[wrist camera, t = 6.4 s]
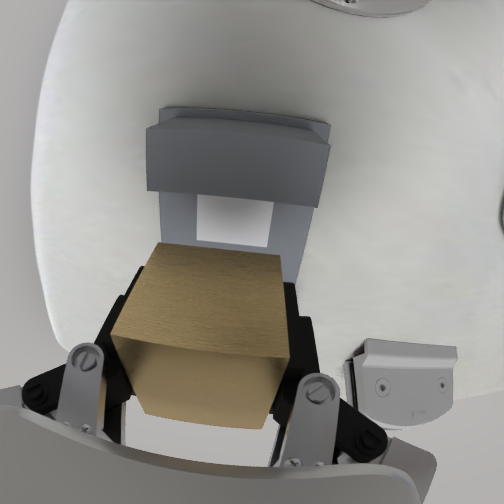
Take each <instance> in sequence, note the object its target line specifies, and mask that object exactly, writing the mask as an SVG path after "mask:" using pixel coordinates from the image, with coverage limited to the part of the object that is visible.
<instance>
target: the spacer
mask: <svg viewBox="0 0 504 504" xmlns="http://www.w3.org/2000/svg"><path fill="white" fill-rule="evenodd" d="M110 335H111V338H112V340H113V343H114V345H115V348H116V351H117V353H118V355H119V358H120V360H121V363H122V365H123V367H124V370H125V372H126V374H127V377H128V379H129V381H130V383H131V385H132V388H133V390H134V392H135V394H136V396H137V398H138V400H139V402H140V404H141V406H142V408H143V410H144V412H145V414H149V415H153V416H158V417H162V418H168V419H173V420H178V421H184V422H191V423H197V424H205V425H213V426H222V427H232V428H245V429H262V427H263V425H264V422H265V420H266V418H267V415H268V413H269V411H270V408H271V406H272V403H273V401H274V398H275V396H276V393H277V391H278V388H279V385H280V383H281V380H282V378H283V375H284V372H285V370H286V367H287V364H288V362H289V359H290V355H289V342H288V330H287V319H286V308H285V297H284V286H283V276H282V266H281V257H280V255H274V254H264V253H255V252H245V251H236V250H226V249H217V248H207V247H198V246H189V245H179V244H170V243H160V242H158V244H157V246H156V247H155V249H154V251H153V253H152V254H151V256H150V258H149V260H148V261H147V263H146V265H145V267H144V269H143V270H142V272H141V274H140V276H139V278H138V280H137V282H136V283H135V285H134V287H133V289H132V291H131V293H130V295H129V297H128V299H127V301H126V303H125V305H124V307H123V309H122V311H121V313H120V315H119V317H118V319H117V321H116V323H115V325H114V327H113V329H112V331H111V333H110Z"/></svg>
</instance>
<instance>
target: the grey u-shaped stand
mask: <svg viewBox="0 0 504 504" xmlns="http://www.w3.org/2000/svg"><path fill="white" fill-rule="evenodd" d="M330 126H331V125H329V124H327V123H323V122H318V121H313V120H307V119H301V118H295V117H289V116H282V115H275V114H267V113H258V112H249V111H238V110H225V109H208V108H162V109H159V123H158V124H156V125H154V126H151V127H149V128H146V175H147V191H159V206H160V226H161V241H162V243H170V244H179V245H189V246H198V247H207V248H217V249H226V250H236V251H245V252H255V253H264V254H274V255H280V257H281V266H282V276H283V282H291V283H294V284H296V280H297V276H298V272H299V269H300V265H301V261H302V257H303V253H304V248H305V244H306V240H307V236H308V232H309V227H310V223H311V219H312V214H313V210H314V208H318V203H319V199H320V194H321V190H322V185H323V180H324V176H325V171H326V166H327V161H328V156H329V151H330V145H329V144H328V143H327V142H328V137H329V131H330Z"/></svg>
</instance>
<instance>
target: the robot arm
mask: <svg viewBox="0 0 504 504" xmlns="http://www.w3.org/2000/svg"><path fill="white" fill-rule="evenodd" d="M313 1H315V2H318V3H320V4H323V5H325V6H327V7H330V8H334V9H337V10H340V11H344V12H347V13H351V14H357V15H362V16H367V17H393V16H400V15H404V14H407V13H410V12H413V11H415V10H417V9H420V8H422V7H424V6H425V5H426V4H428V3H429V2H430V1H431V0H347V1H348V3H349V4H348V3H346V2H344V1H343V0H313ZM144 267H145V266H141V267H140V268H139V270H138V272H137V273H136V275H135V277H134V279H133V280H132V282H131V284H130V286H129V288H128V290H127V291H126V293H125V295H120V296H119V297H118V298H117V300H116V302H115V303H114V305H113V307H112V309H111V311H110V313H109V315H108V317H107V318H106V320H105V322H104V324H103V326H102V328H101V330H100V332H99V334H98V336H97V338H96V340H95V342H94V344H93V343H82V344H79V345H77V346H76V347H74V348H73V349H72V350H71V352H70V353H69V356H68V359H67V363H66V364H64V365H61V366H59V367H57V368H54V369H52V370H50V371H47V372H45V373H43V374H40V375H38V376H36V377H33V378H31V379H30V380H28V381H27V382H26V383H25V385H24V386H23V387H21V386H20V385H18V386H14V387H9V388H5V389H1V390H0V504H423V502H424V499H425V497H426V495H427V492H428V490H429V487H430V485H431V482H432V479H433V476H434V474H435V471H436V466H437V462H436V458H435V457H434V455H433V454H431V453H430V452H428V451H425V450H423V449H420V448H418V447H415V446H413V445H411V444H409V443H406V442H404V441H402V440H400V439H398V438H395V437H393V438H389V437H387V434H386V432H385V431H384V429H383V428H381V427H380V426H379V425H378V424H376V423H375V422H373V421H372V420H370V419H369V418H368V417H366V416H365V415H363V414H362V413H360V412H359V411H358V410H356V409H355V408H354V407H352V406H351V405H349V404H348V403H347V402H345V401H344V400H343V399H341V398H340V388H339V386H338V384H337V383H336V381H335V380H334V379H333V378H331V377H330V376H328V375H325V374H322V373H320V369H319V363H318V356H317V350H316V344H315V338H314V332H313V326H312V321H311V318H310V317H307V316H299V311H298V304H297V297H296V290H295V284H294V283H291V282H283V286H284V297H285V308H286V319H287V330H288V342H289V355H290V359H289V362H288V364H287V367H286V370H285V372H284V375H283V378H282V380H281V383H280V385H279V388H278V391H277V393H276V396H275V398H274V401H273V403H272V406H271V408H270V411H269V414H273V419H274V420H275V421H276V422H278V423H279V426H278V430H277V434H276V438H275V442H274V445H273V449H272V453H271V456H270V460H269V463H268V467H251V466H250V467H249V466H235V465H223V464H213V463H205V462H198V461H192V460H185V459H180V458H174V457H169V456H164V455H159V454H154V453H150V452H146V451H142V450H138V449H134V448H131V447H127V446H125V412H126V401H127V400H129V399H130V397H131V395H135V396H136V394H135V392H134V390H133V388H132V385H131V383H130V381H129V379H128V377H127V374H126V372H125V370H124V367H123V365H122V363H121V360H120V358H119V355H118V353H117V351H116V348H115V345H114V343H113V340H112V338H111V335H110V333H111V331H112V329H113V327H114V325H115V323H116V321H117V319H118V317H119V315H120V313H121V311H122V309H123V307H124V305H125V303H126V301H127V299H128V297H129V295H130V293H131V291H132V289H133V287H134V285H135V283H136V282H137V280H138V278H139V276H140V274H141V272H142V270H143V269H144Z"/></svg>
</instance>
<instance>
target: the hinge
mask: <svg viewBox="0 0 504 504" xmlns="http://www.w3.org/2000/svg"><path fill="white" fill-rule="evenodd" d="M364 349H365V353H364V354H361V355H359V356H356V357H354V358H353V361H346V362H345V363H344V365H343V366H344V375H345V385H346V396H347V403H348V404H349V405H351V406H352V407H354V408H355V409H356V410H358V411H359V412H360V413H362V414H363V415H365V416H366V417H368V418H369V419H370V420H372V421H373V422H375V423H376V424H378V425H379V426H380V427H381V428H383V429H384V430H402V429H409V428H413V427H418V426H421V425H424V424H426V423H428V422H431V421H433V420H435V419H437V418H439V417H440V416H442V415H443V414H445V413H446V412H447V411H449V410H450V408H451V407H452V404H453V367H454V365H455V363H456V361H457V359H458V357H457V349H456V347H454V346H439V345H426V344H414V343H404V342H395V341H386V340H377V339H369V338H367V339H366V340H365V341H364Z"/></svg>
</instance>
